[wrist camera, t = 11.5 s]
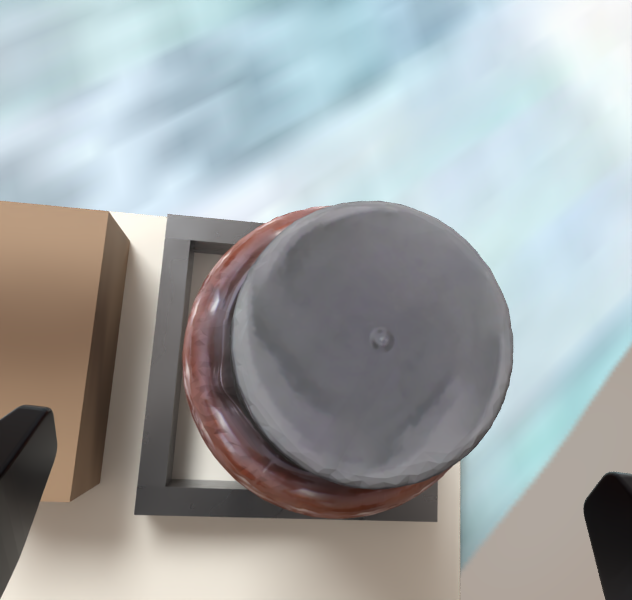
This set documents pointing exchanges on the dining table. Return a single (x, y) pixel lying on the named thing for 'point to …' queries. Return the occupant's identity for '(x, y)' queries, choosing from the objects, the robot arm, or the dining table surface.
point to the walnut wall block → (62, 329)
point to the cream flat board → (212, 532)
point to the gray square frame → (165, 385)
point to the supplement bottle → (346, 357)
